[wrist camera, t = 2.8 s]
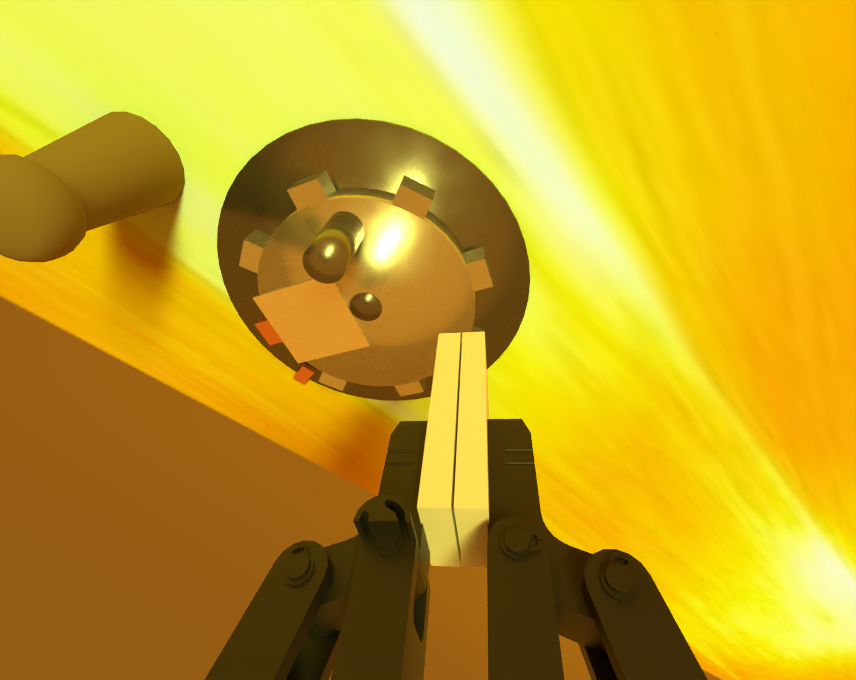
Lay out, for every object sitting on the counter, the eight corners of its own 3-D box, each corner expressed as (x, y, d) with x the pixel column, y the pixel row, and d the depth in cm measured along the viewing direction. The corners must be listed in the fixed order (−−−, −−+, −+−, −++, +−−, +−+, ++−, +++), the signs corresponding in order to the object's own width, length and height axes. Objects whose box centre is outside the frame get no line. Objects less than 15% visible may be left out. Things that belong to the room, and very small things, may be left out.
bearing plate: (280, 401, 42) (278, 405, 41) (157, 142, 27) (152, 144, 27) (527, 395, 38) (527, 400, 38) (533, 93, 24) (534, 95, 23)
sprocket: (295, 384, 39) (265, 444, 34) (209, 182, 28) (144, 221, 23) (496, 378, 36) (499, 442, 31) (488, 151, 25) (490, 188, 20)
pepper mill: (173, 119, 27) (24, 168, 18) (192, 211, 30) (77, 289, 22) (78, 103, 26) (-117, 144, 18) (109, 197, 30) (-40, 270, 21)
